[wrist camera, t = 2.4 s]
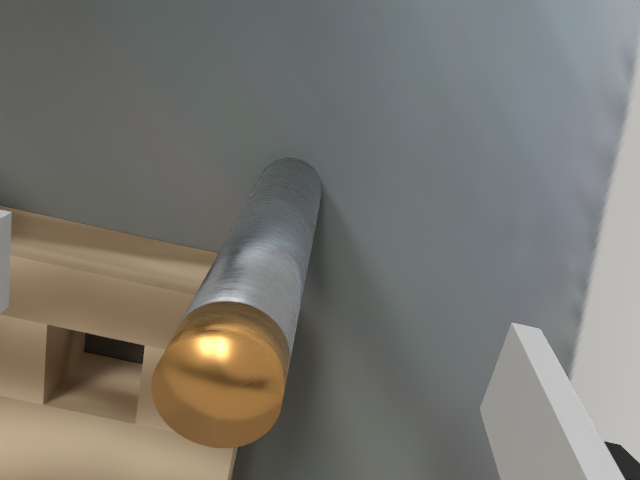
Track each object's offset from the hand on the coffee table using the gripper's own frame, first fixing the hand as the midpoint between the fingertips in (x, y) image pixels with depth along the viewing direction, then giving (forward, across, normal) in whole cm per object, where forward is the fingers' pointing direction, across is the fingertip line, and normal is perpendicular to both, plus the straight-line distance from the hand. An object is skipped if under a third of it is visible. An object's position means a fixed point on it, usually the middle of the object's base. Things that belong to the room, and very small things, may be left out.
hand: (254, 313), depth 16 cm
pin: (+10, 0, 0) cm, 10 cm away
